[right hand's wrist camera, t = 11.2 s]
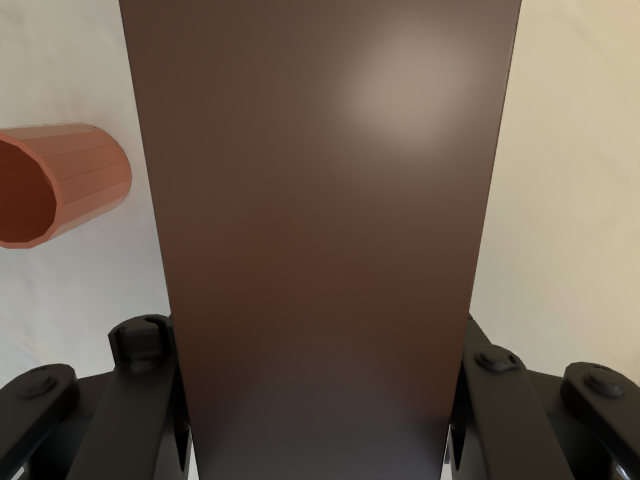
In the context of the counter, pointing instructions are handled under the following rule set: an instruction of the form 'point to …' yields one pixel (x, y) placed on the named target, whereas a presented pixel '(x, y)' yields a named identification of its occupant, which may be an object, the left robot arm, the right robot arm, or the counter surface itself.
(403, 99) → the walnut box
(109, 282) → the counter surface
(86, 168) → the terracotta cup
